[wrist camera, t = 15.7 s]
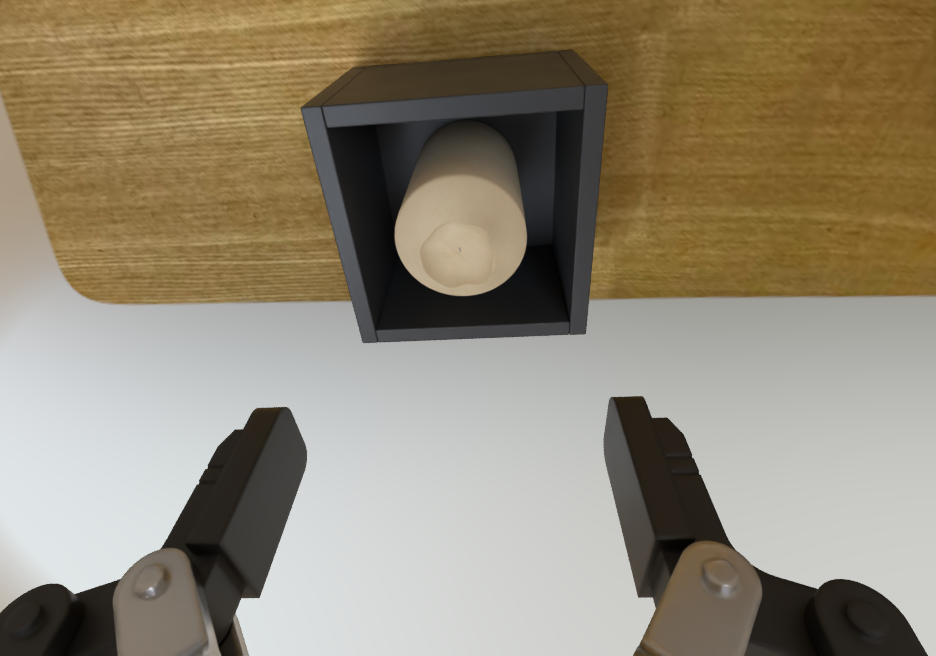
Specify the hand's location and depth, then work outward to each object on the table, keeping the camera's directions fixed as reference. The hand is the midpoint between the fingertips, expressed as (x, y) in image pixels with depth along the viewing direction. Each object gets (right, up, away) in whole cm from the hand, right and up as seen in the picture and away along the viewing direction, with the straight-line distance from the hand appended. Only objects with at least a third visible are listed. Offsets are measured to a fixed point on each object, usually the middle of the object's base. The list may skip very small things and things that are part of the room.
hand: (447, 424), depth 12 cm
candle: (0, +11, +15) cm, 19 cm away
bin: (+1, +11, +15) cm, 19 cm away
